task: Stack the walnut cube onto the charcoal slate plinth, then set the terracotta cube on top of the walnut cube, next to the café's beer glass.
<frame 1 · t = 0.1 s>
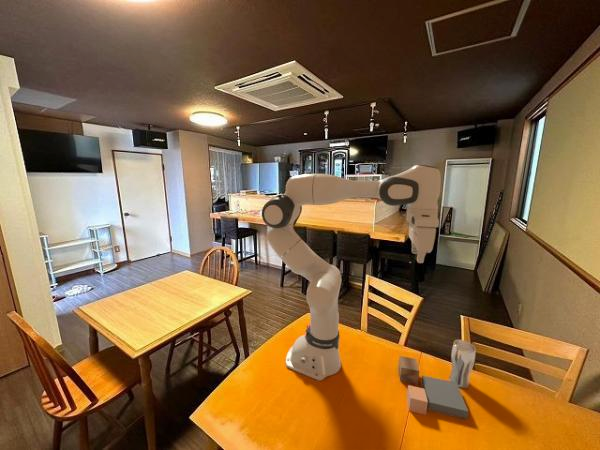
hand: (417, 257, 80), 48 cm above the table, fingers open, 8 cm apart
terracotta cube: (416, 405, 79), on the table
walnut cube: (407, 376, 91), on the table
beer glass: (458, 381, 88), on the table
plinth: (442, 399, 81), on the table
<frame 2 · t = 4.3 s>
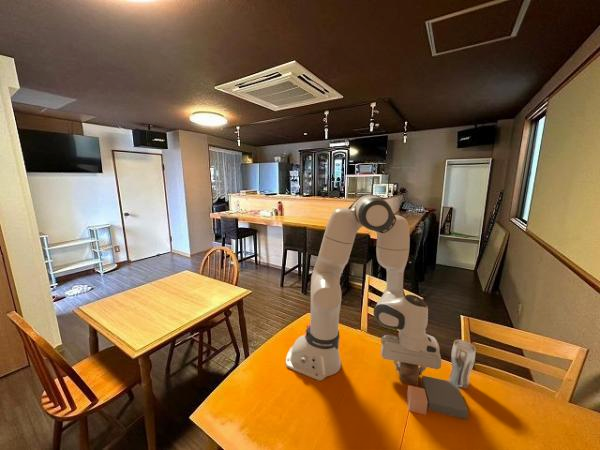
hand: (408, 371, 90), 2 cm above the table, fingers closed on walnut cube, 6 cm apart
walnut cube: (407, 376, 90), on the table, touching gripper
everything else where it was.
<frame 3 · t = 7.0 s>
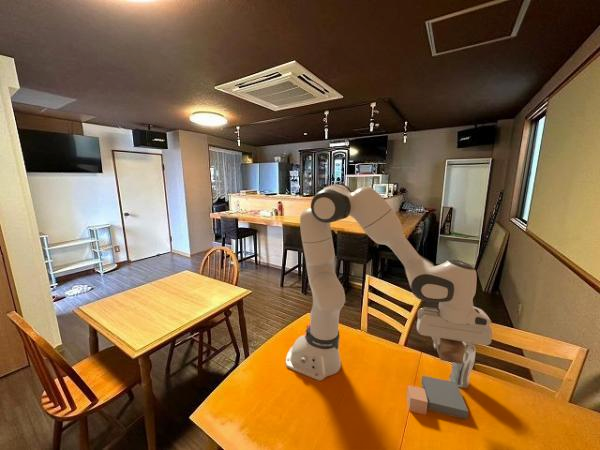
hand: (449, 349, 77), 19 cm above the table, fingers closed on walnut cube, 6 cm apart
walnut cube: (448, 355, 78), point 17 cm above the table, touching gripper
everything else where it was.
when the fingers open (6 cm above the table, at t = 9.9 s): walnut cube stays where it is, resting on plinth.
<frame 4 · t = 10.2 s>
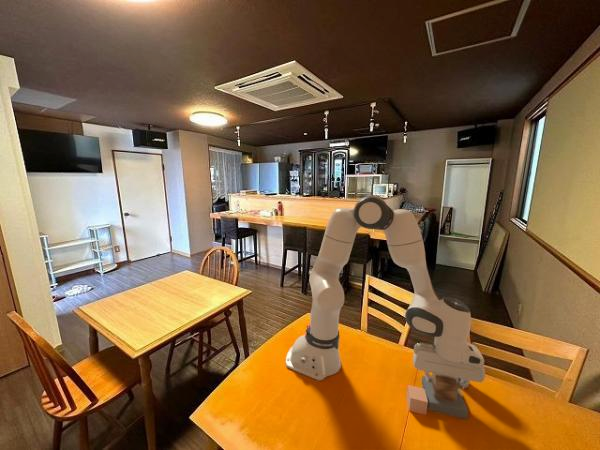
hand: (444, 384, 80), 6 cm above the table, fingers open, 8 cm apart
walnut cube: (443, 391, 81), point 3 cm above the table, touching plinth
everything else where it was.
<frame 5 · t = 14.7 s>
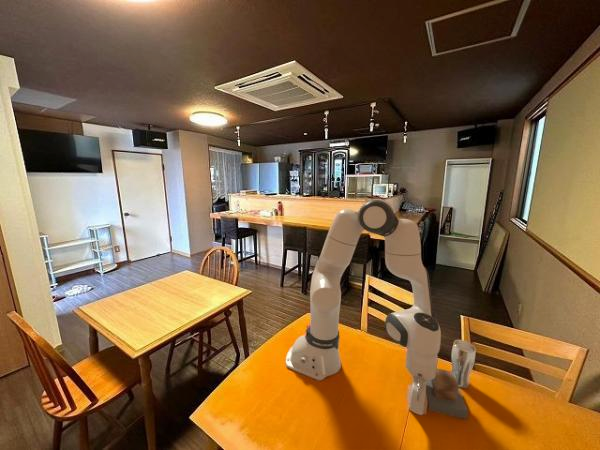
hand: (416, 400, 79), 2 cm above the table, fingers closed on terracotta cube, 5 cm apart
terracotta cube: (416, 405, 79), on the table, touching gripper
everything else where it was.
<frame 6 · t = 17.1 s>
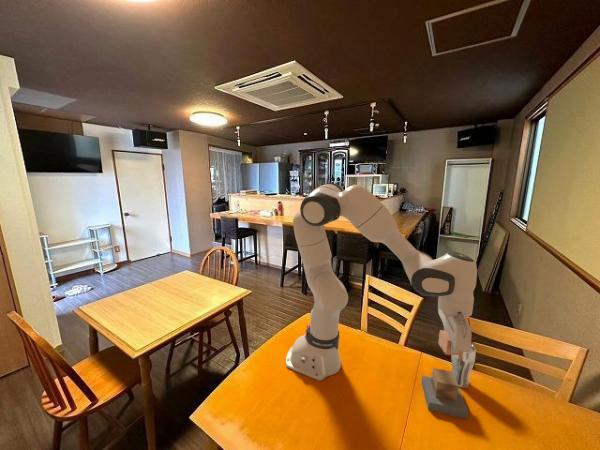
hand: (450, 343, 76), 22 cm above the table, fingers closed on terracotta cube, 5 cm apart
terracotta cube: (450, 349, 77), point 20 cm above the table, touching gripper
everything else where it was.
when the fingers open (12 cm above the table, at t = 19.8 s): terracotta cube stays where it is, resting on walnut cube.
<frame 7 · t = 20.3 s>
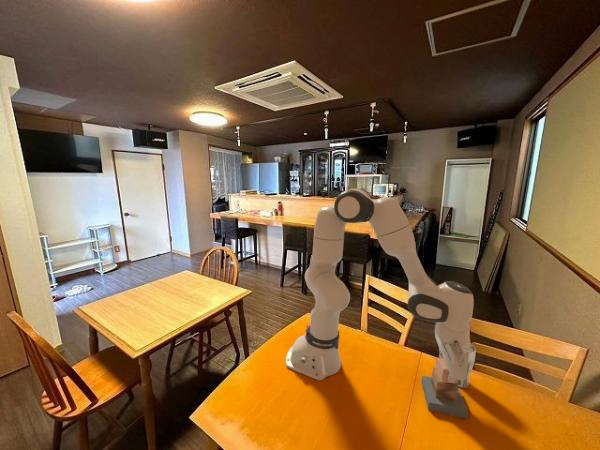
hand: (446, 369, 79), 12 cm above the table, fingers open, 8 cm apart
terracotta cube: (445, 376, 79), point 9 cm above the table, touching walnut cube
walnut cube: (443, 391, 81), point 3 cm above the table, touching plinth, terracotta cube
everything else where it was.
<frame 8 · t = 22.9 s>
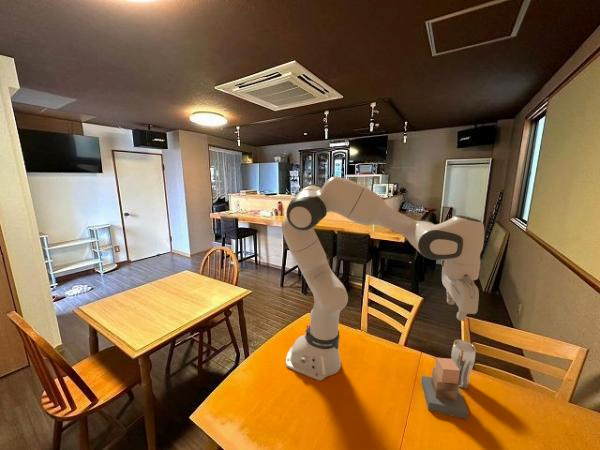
hand: (455, 311, 75), 33 cm above the table, fingers open, 8 cm apart
nothing on the table moved.
at the end: walnut cube 0.1 cm off-centre on the plinth, point 3.0 cm above the plinth's base; terracotta cube 0.2 cm off-centre on the walnut cube, point 6.0 cm above the walnut cube's base; terracotta cube tilted 0° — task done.
